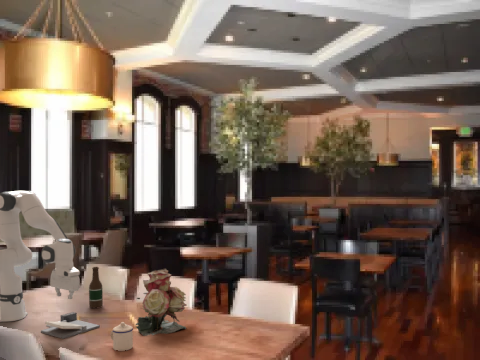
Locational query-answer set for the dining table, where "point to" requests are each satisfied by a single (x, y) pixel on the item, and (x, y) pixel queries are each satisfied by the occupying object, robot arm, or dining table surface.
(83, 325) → the board
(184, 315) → the dining table surface
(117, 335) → the teacup with lid
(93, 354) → the dining table surface
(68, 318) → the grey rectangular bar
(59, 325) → the tile
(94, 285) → the beer bottle
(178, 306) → the rose bouquet
